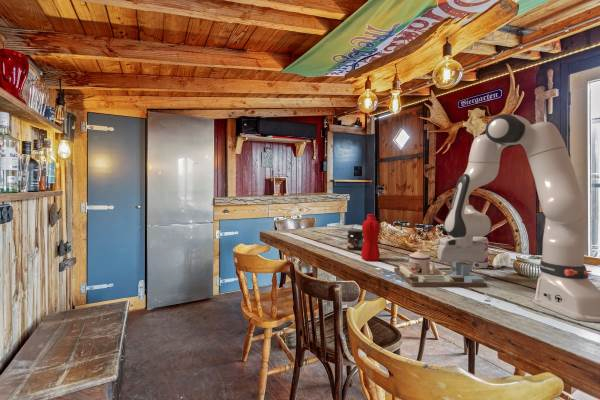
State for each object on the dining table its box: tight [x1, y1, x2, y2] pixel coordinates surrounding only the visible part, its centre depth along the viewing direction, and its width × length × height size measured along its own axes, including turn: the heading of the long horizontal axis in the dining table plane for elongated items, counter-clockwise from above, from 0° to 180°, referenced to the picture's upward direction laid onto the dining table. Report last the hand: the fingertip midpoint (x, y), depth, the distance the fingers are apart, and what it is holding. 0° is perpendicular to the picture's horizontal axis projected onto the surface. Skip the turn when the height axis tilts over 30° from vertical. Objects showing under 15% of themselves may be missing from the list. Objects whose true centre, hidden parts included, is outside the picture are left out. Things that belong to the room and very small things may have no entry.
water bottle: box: [360, 213, 383, 262], centre depth 173 cm, size 9×11×25 cm
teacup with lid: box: [408, 249, 436, 275], centre depth 142 cm, size 12×9×12 cm
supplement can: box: [468, 236, 490, 269], centre depth 159 cm, size 8×8×15 cm
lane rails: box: [393, 267, 488, 288], centre depth 139 cm, size 24×30×2 cm
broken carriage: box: [418, 274, 485, 282], centre depth 131 cm, size 6×25×3 cm, turn 90°
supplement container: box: [346, 229, 364, 252], centre depth 203 cm, size 10×10×12 cm
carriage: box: [399, 262, 471, 277], centre depth 142 cm, size 14×27×6 cm, turn 90°
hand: (460, 271), depth 142 cm, fingers open, 5 cm apart
